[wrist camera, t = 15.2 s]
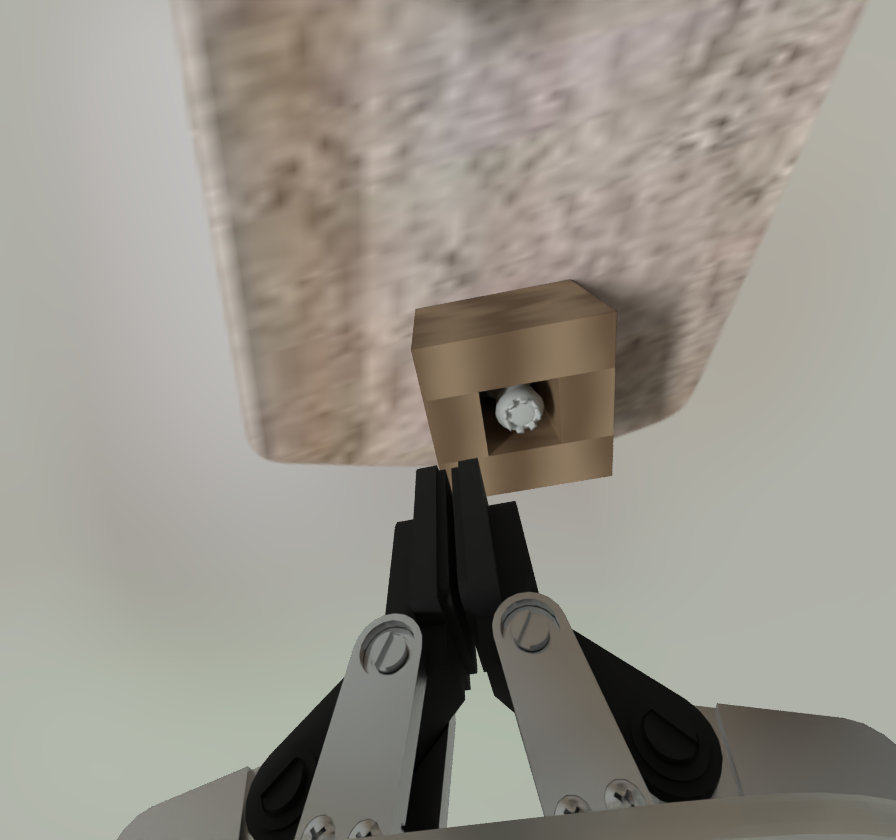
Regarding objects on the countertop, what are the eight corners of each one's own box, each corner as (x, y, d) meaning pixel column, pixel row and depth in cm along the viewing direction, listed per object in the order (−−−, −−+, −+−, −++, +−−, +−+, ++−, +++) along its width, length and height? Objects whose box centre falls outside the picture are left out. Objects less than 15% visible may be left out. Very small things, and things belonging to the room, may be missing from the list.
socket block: (570, 279, 31) (616, 311, 23) (573, 414, 37) (612, 475, 29) (415, 309, 32) (411, 350, 24) (443, 436, 38) (447, 502, 30)
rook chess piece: (483, 337, 32) (498, 380, 25) (537, 348, 33) (566, 392, 26) (470, 388, 34) (480, 440, 27) (521, 397, 35) (544, 450, 28)
